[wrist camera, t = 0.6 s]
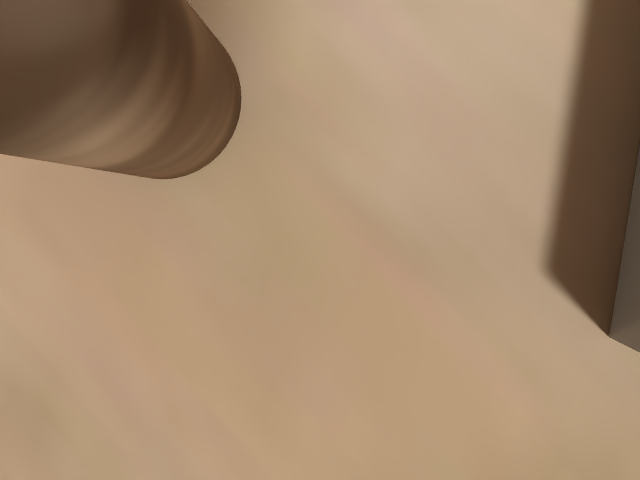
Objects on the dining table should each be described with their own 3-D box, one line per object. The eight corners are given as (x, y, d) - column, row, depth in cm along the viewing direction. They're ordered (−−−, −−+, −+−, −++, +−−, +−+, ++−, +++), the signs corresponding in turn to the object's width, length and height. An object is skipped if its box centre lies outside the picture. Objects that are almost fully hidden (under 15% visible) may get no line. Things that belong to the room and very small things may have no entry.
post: (230, 188, 21) (75, 160, 9) (75, 168, 21) (-261, 116, 10) (250, 26, 20) (116, -209, 9) (92, 8, 21) (-232, -243, 9)
